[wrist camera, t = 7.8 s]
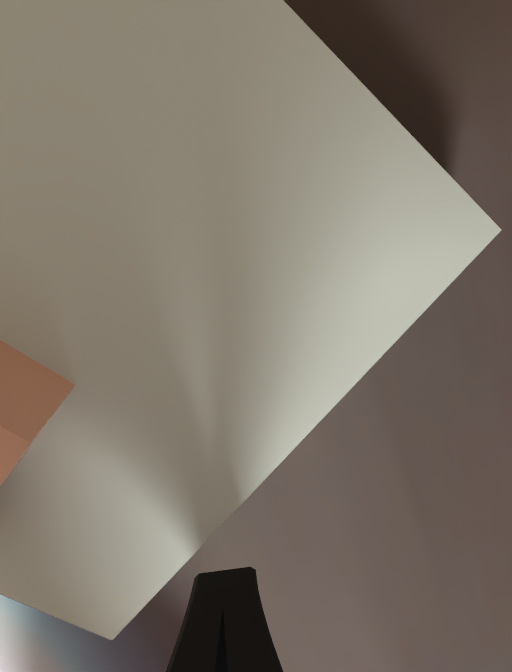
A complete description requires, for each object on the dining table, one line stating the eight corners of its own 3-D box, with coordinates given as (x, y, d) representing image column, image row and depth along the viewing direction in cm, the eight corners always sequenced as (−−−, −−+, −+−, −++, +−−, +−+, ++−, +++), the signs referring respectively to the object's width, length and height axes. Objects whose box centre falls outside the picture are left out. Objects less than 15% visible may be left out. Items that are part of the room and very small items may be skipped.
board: (447, 222, 10) (501, 229, 8) (128, 574, 13) (111, 640, 11) (-167, -393, 6) (-353, -670, 4) (-403, 323, 9) (-569, 358, 7)
